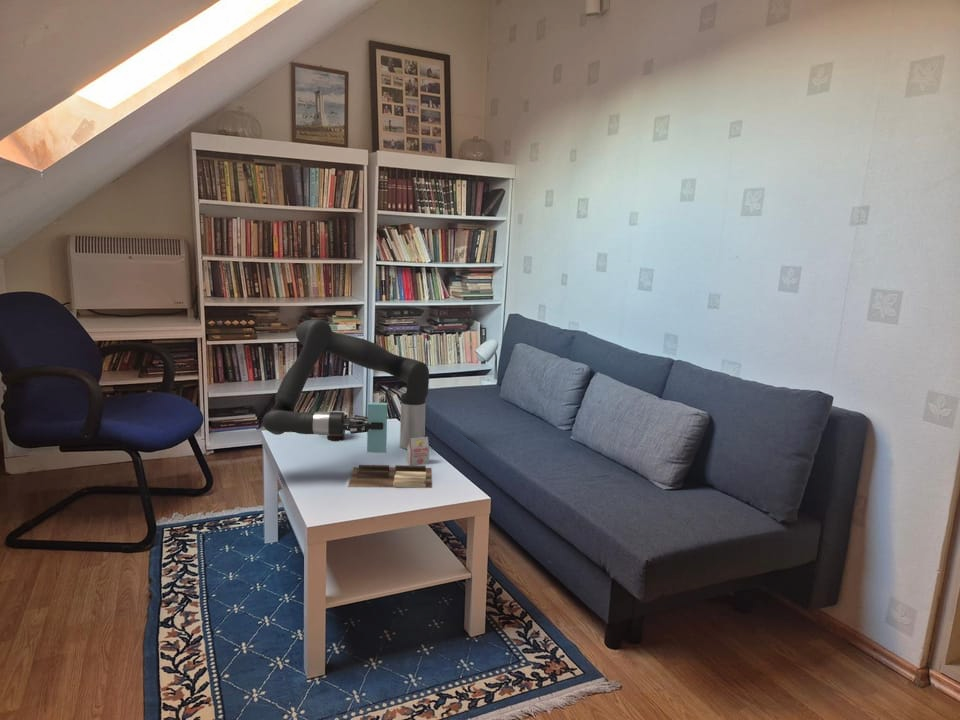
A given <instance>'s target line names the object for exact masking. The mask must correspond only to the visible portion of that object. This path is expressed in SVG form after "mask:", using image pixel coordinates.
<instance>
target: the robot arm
mask: <svg viewBox="0 0 960 720" xmlns="http://www.w3.org/2000/svg"><path fill="white" fill-rule="evenodd" d="M295 335H296V339H297V341H298V342H299V343H300V344H301V345H303V346H302V349H301V351H300V353H299V354H298V356H297V358H296V360H295V361H294V362H293V363H292V365H291V366H290V368H289V369H288V370H287V372H286V373H285V375H284V377H283V378H282V380H281V382H280V385H279V387H278V390H277V392H276V395H275V396H274V397H275V398H274V399H275V403H274V406H273V409H272V410H270V411H268V412H266V414H264V416H263V417H262V426H263V428H264V429H265V430H266V431H267V432H269V433H271V434H272V435H277V436H279V435H282V434H284V433H296V434H300V435H316V436H327V435H330V436H342V435H343V434H344V430H345V431H347V432H349V434H351V435H353V434H354V435H355V434H361V433H367V432H369V431H370V430H382V429H383V423H379V422H372V424H371V422H368V416H363V415H357V414H356V415H354V416H351V417H347V418H345V414H344V413H343V412H329V411H315V412H311V411H310V412H308V411H305V412H302V411H300V412H298V411H295V409H296V406H297V404H298V401H299V400H300V396H301V395H302V393H303V389H304V387H305V385H306V383H307V381H308V378H309V377H310V375H311V373H312V370H313V369H314V367H315V365H316V364H317V362H318V360H319V359H320V357H321V355H322V353H323V352H326V353H330V354H333V355H335V356H336V357H338V358H340V359H343V360H345V361H348V362H350V363H353V364H355V365H357V366H359V367H362V368H365V369H368V370H373V371H377V372H378V371H379V372H383V373H387V374H389V375H391V376H393V377H394V378H397V379H398V380H400V381H402V382H404V383H406V391H405V392H403V393H402V394H401V396H400V423H399V424H400V427H399V428H400V429H399V431H400V432H399V433H400V435H399V447H400V448H401V449H404V450H407V447H408V443H409V438H420V437H426V434H425V433H426V400H427V397H428V395H429V394H428V393H429V383H430V381H429V380H430V369H429V367H428V365H427V364H426V363H425V362H423V361H419V360H417V359H414V358H408V357H404V356H400V355H397V354H394V353H392V352H391V351H388V350H387V349H385V348H384V347H382V346H381V345H378V344H377V343H374V342H372V341H369V340H367V339H364V338H360V337H357V336H354V335H353V336H351V335H348V334H342V333H338V332H335V331H333V330H332V327H331V325H330V324H329V323H328V322H327V321H325V320H323V319H318V318H317V319H307V320H305V321H303V322H301V323H299V324H298V325H297V327H296V329H295Z"/></svg>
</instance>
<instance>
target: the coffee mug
mask: <svg viewBox="0 0 960 720" xmlns="http://www.w3.org/2000/svg"><path fill="white" fill-rule="evenodd" d="M328 412H343V413H344V414H345V418H348V412H347V411H342V410H332V411H331V410H329V411H328ZM345 435H346V430H344V434H343V435H342V436H330V435H326V439H327V440H328V441H330V440H331V441H330V442H340V441H339V440H341V441H344V440H345Z"/></svg>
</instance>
